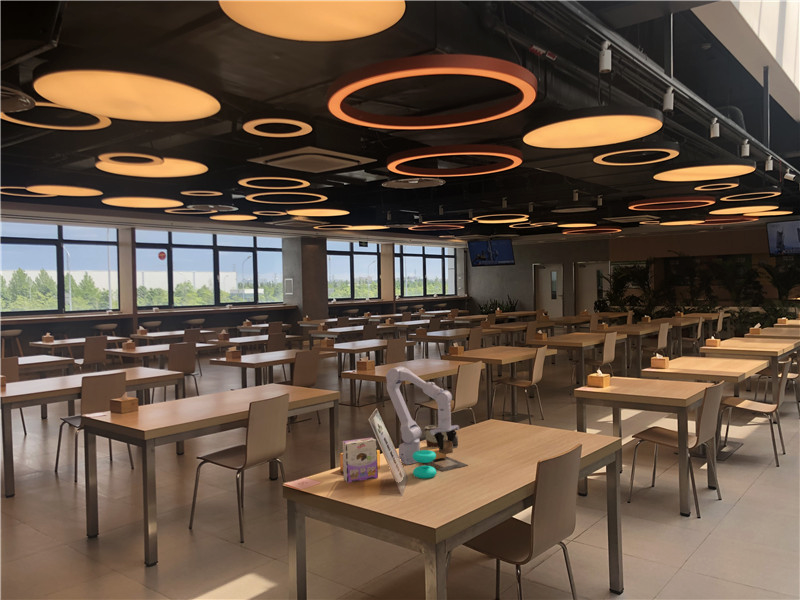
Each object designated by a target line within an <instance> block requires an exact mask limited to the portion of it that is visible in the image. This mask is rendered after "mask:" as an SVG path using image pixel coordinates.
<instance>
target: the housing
mask: <svg viewBox="0 0 800 600" xmlns="http://www.w3.org/2000/svg"><path fill="white" fill-rule="evenodd" d="M439 452H440V453H442V454H446V455H448V454H449V455H450V454H453V453H454V449H453V444H452V441H449V440H447V439H446V440H443V450H441V449H439Z"/></svg>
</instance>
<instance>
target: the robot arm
mask: <svg viewBox="0 0 800 600" xmlns="http://www.w3.org/2000/svg"><path fill="white" fill-rule="evenodd" d="M385 379H386V390H387V391H386V392H388V395H389V398H390V400H391V402H392V405H393V408H394V410H395V412H396V415H397V417H398V418H399V421H400V424H401V425H400V429H399V430H400V432H401V435H400V436H401V439H402V441H403V443H400V444H399V445H398V459H399V458H400V459H401V461H402V462H401V463H402V464H404V465H405V466H406V465H412V464H418V463H419V462H417V461H415V460H414V459H413V453H414V452H416V451H419V450H421V448H420V447H421V445H420V442H421V440H420V438H421V437H422V433H423V431H422V429H421V427H420V426H419V425H418V423H417V421H415V420H414V419H413V418H412V415H411V414H410V411H409V409H408V406H407V404H406V402H405V400H404V397H403V394H402V393H401V390H400V386H401V384H402V382H403V381H405V382H407V381H408V382H410V383H412V384H414V385H415V386H416V387H418V388H420V389H422V392H423V394H425V395H427V396H428V397H430V398H431V399H433V400H435V402H436V404H437V418H438V421H437V423H438V424H437V425H438V428H435V429H432V430H430V434H432V435H434V436H435V438H436V440H437V443H438V446H439V447H438V448H439V449H441V450H443V439H444V435H442V434H441V433H444V432H446V434H447V439H446V440H449V441H452V444H453V440H454V438H455V436H457V434H458V433H457V431H459V430H460V425H458V424H454V425H452V419H451V418H452V412H451V411H452V410H451V409H452V408H451V407H452V406H451V402H452V400H453V395H452V393H451V392H450V391H449V390H447V389H445V390H444V388H442V387H441V388H440V386H438V385H436V383H435V381H434V382H433V381H428V382H426V381H425V380H424V379H422V378H420V377H419V376H418V375H416V373H414V372H412V371H411V370H410V369H409V368H407V367H405V366H403V365H399V366H396V367H392V368H389V369H388V370H387V373H386V374H385Z"/></svg>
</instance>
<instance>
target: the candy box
mask: <svg viewBox="0 0 800 600" xmlns="http://www.w3.org/2000/svg"><path fill="white" fill-rule="evenodd" d="M341 442H342V444H341V445H342V470H343V472H342V473H343V480H344V481H345V482H346V483H355V482H360V481H365V480H367V481H368V480H371V479H373V480H374V479H377V478H378V479H379V470H378V469H379V468H378V466H379V465H378V445H377V443H378V441H377V439H376V438H374V437H371V436H370V437H366V438H365V437H363V438H357V439H350V440H348V439H347V440H343V441H341Z"/></svg>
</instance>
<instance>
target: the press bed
mask: <svg viewBox="0 0 800 600" xmlns="http://www.w3.org/2000/svg"><path fill="white" fill-rule="evenodd" d="M423 464H424V465H427V466H432V467H434V468H435V469H436V471H437V470H438V471H440V472H447V471H450V470H455V469H459V468H464V467H468V463H467V464H466V463H464V462H461V461H459V460H458V459H457V460H456V459H454V458H451V457H449V456H447V455H446V457H444V458H439V459H435V460H433V461H431V462H427V463H423Z"/></svg>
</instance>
